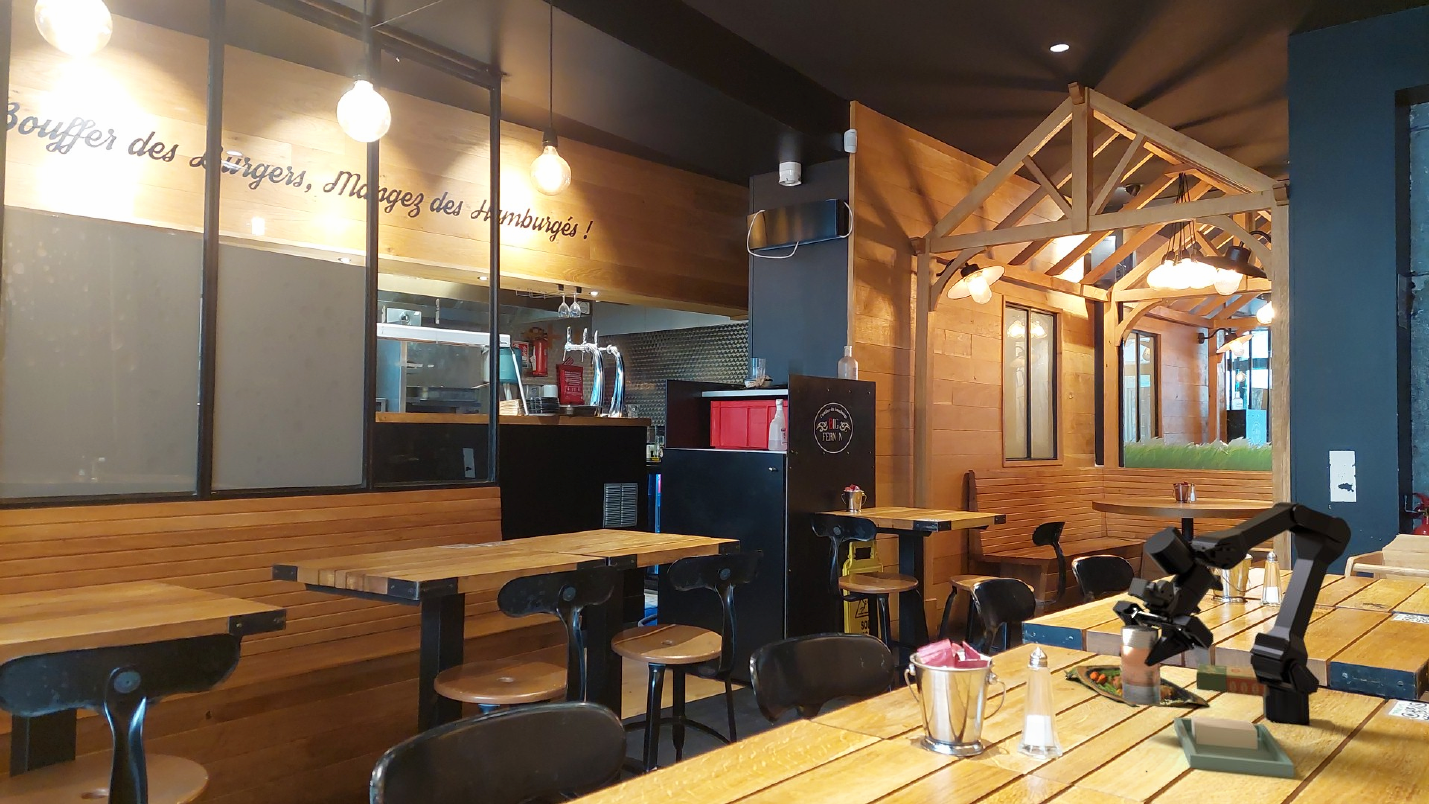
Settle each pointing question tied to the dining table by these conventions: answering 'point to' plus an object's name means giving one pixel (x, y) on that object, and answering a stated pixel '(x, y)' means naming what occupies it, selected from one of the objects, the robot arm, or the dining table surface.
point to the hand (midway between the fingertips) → (1133, 660)
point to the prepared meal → (1110, 685)
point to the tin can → (1139, 665)
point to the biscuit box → (1224, 732)
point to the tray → (1235, 753)
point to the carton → (1228, 680)
